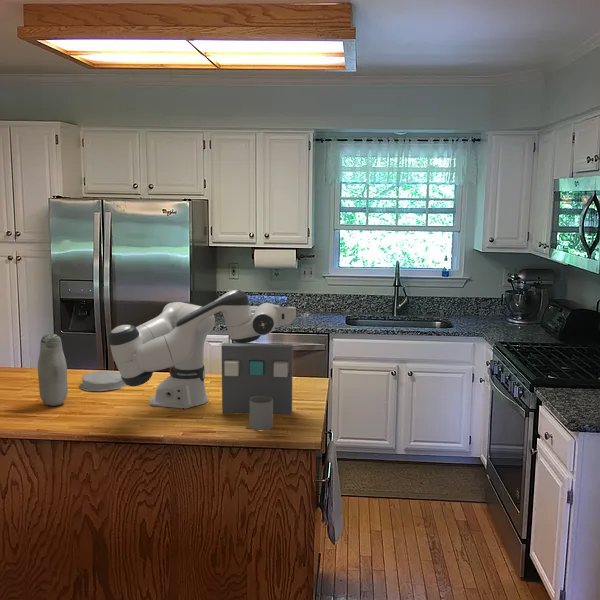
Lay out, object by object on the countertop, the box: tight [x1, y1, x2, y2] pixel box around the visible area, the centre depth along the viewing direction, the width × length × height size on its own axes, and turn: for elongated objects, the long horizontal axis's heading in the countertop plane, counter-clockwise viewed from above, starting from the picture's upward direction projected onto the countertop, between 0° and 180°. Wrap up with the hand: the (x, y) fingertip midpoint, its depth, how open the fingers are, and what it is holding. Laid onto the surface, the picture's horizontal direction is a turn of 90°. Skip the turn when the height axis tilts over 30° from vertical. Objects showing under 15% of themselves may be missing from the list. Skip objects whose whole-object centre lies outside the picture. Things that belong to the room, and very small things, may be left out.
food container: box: [79, 370, 128, 392], centre depth 271 cm, size 20×20×7 cm
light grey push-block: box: [274, 361, 289, 377], centre depth 235 cm, size 5×6×5 cm
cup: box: [249, 396, 274, 431], centre depth 226 cm, size 8×8×10 cm
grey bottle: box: [37, 333, 69, 407], centre depth 244 cm, size 10×10×28 cm
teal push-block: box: [250, 360, 264, 375], centre depth 238 cm, size 5×6×5 cm
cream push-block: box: [224, 360, 240, 376], centre depth 236 cm, size 5×6×5 cm
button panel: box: [220, 342, 294, 416], centre depth 238 cm, size 26×4×26 cm, turn 88°
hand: (270, 308), depth 244 cm, fingers closed
